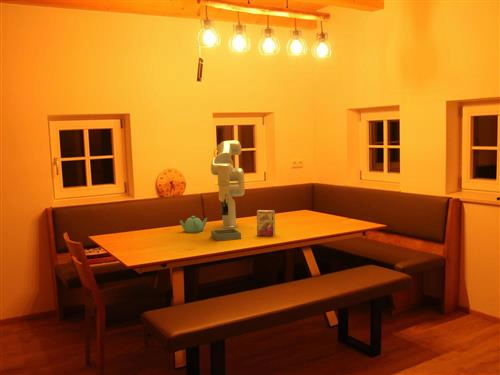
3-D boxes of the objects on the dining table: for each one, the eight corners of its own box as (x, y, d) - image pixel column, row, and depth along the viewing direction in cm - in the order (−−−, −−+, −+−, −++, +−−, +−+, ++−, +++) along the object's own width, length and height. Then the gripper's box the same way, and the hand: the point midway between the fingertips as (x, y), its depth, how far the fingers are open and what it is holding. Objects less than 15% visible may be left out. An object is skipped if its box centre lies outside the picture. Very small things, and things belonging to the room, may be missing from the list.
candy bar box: (257, 235, 338) (256, 211, 336) (259, 234, 343) (258, 209, 341) (273, 236, 334) (272, 211, 333) (275, 234, 339) (274, 210, 337)
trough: (211, 236, 341) (211, 230, 341) (234, 234, 346) (234, 228, 345) (216, 241, 326) (216, 234, 326) (241, 238, 331) (240, 232, 330)
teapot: (178, 233, 358) (177, 217, 357) (189, 228, 372) (188, 214, 371) (198, 233, 352) (197, 218, 351) (208, 229, 366) (207, 214, 365)
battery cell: (220, 214, 336) (220, 201, 335) (227, 214, 337) (226, 200, 336) (222, 215, 331) (222, 201, 331) (229, 214, 333) (228, 201, 332)
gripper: (215, 182, 339) (216, 210, 341) (221, 185, 323) (222, 213, 325) (226, 182, 341) (227, 209, 343) (232, 184, 325) (233, 213, 327)
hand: (224, 211), depth 334 cm, fingers closed on battery cell, 4 cm apart
